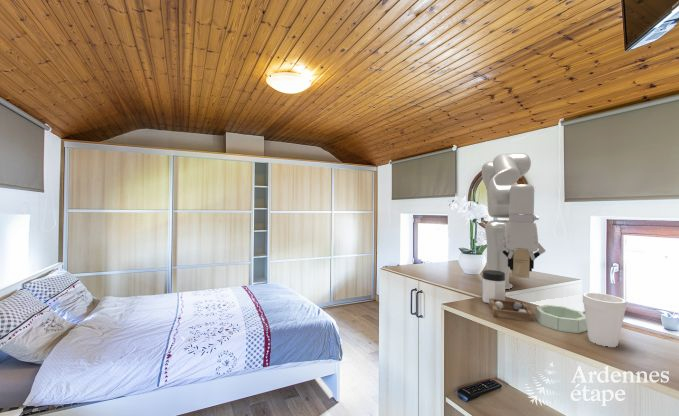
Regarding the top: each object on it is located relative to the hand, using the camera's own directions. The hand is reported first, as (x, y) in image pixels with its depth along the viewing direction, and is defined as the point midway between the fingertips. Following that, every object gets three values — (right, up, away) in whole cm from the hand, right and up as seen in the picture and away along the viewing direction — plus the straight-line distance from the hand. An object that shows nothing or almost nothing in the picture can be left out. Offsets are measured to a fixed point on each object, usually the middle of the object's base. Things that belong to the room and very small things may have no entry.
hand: (520, 269), depth 108 cm
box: (0, -3, 0) cm, 3 cm away
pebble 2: (+2, -16, +5) cm, 17 cm away
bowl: (+9, -17, -7) cm, 20 cm away
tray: (-2, -16, +2) cm, 17 cm away
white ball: (0, -17, -2) cm, 17 cm away
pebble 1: (-4, -16, +7) cm, 18 cm away
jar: (-2, -16, +15) cm, 22 cm away
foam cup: (+12, -17, -20) cm, 29 cm away
